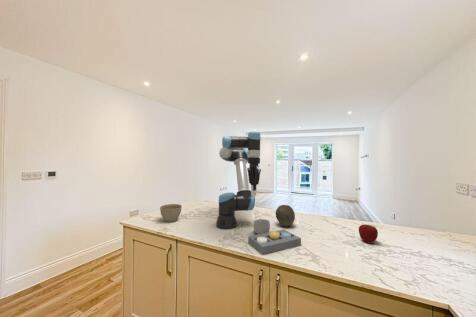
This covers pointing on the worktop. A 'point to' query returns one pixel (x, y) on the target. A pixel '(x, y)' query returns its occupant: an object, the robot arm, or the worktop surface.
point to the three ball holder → (274, 242)
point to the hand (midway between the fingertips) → (253, 195)
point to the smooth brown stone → (285, 215)
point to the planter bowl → (170, 212)
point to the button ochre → (274, 235)
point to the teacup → (261, 226)
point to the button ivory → (261, 240)
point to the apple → (368, 233)
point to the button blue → (286, 234)
